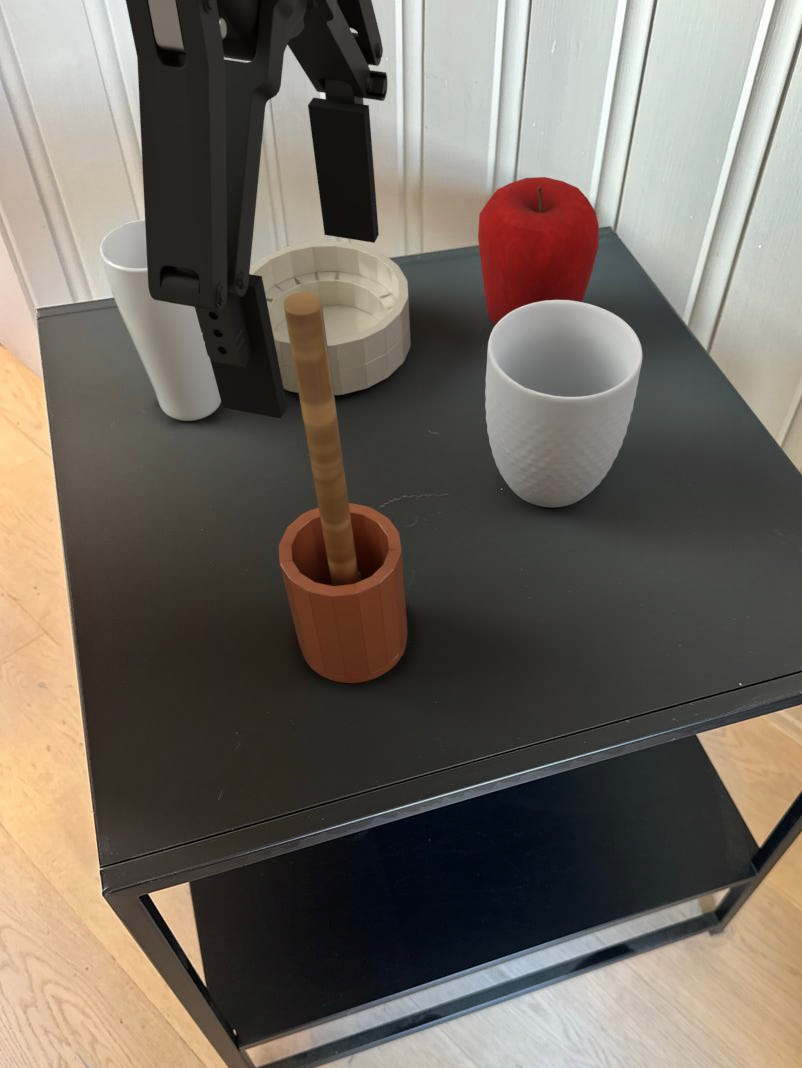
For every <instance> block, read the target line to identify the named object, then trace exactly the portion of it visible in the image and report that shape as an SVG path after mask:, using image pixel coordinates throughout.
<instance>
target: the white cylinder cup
mask: <svg viewBox="0 0 802 1068" xmlns="http://www.w3.org/2000/svg"><path fill="white" fill-rule="evenodd" d="M99 255H100V259H101V262H102V266H103V269H104V273H105V275H106V280H107V282H108V285H109V288H110V291H111V294H112V296H113V299H114V303H115V304H116V307H117V309H118V312H119V313H120V316H121V318H122V321H123V324H124V325H125V327H126V329H127V332H128V334H129V336H130V339H131V340H132V343H133V345H134V347H135V350H136V351H137V354H138V356H139V359H140V360H141V363H142V365H143V368H144V370H145V372H146V375H147V376H148V379H149V381H150V384H151V387H152V388H153V390H154V393H155V397H156V399H157V402H158V405H159V408H160V410H162V412H163V413H164V414H166V416H168V417H169V418H171V419H174V420H178V421H183V422H192V421H199V420H202V419H205V418H207V417H208V416H211V415H212V414H213V413H214V412H216V411H217V410H218V409H219V407H220V405H222V402H221V398H220V395H219V391H218V387H217V383H216V380H215V376H214V372H213V368H212V365H211V361H210V358H209V356H208V355H207V351H206V347H205V342H204V340H203V336H202V334H203V333H202V332H201V329H200V325H199V321H198V318H197V314H196V310H195V307H192V306H186V305H180V304H175V303H169V302H164V301H158V300H154V299H153V298H152V297H151V295H150V292H149V287H148V271H147V250H146V229H145V218H142V219H136V220H132V221H129V222H125V223H123V224H121V225H119V226H117V227H114V228H113V229H112V230H110V231H109V232H107V234H106V235H105V236H104V237H103V239H102V240H101V242H100V245H99Z"/></svg>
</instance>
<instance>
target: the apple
mask: <svg viewBox="0 0 802 1068" xmlns="http://www.w3.org/2000/svg"><path fill="white" fill-rule="evenodd" d="M478 216H479V217H478V231H477V232H478V233H477V239H478V240H477V241H478V250H479V258H480V267H481V276H482V282H483V289H484V297H485V304H486V313H487V317H488V319H489V320H490V321H491V322H492V324H494V326H495V325H496V324H497V323H498V322H499V321H500V320H501V319H502V318H503V317H504V316H506V315H507V314H508V313H510V312H512V311H513V310H515V309H517V308H520V307H522V306H525V305H528V304H531V303H535V302H540V301H547V300H571V301H577V302H583V303H584V299H585V296H586V293H587V290H588V286H589V283H590V280H591V276H592V273H593V269H594V265H595V262H596V257H597V254H598V251H599V234H600V233H599V230H600V229H599V228H600V225H599V221H598V216H597V212H596V210H595V208H594V207H593V205H592V203H591V202H590V200H589V198H588V197H587V196H586V195H585V194H584V193H583V192H582V190H581V189H580V188H579V187H577V186H575V185H573V184H570V183H568V182H566V181H563V180H560V179H555V178H550V177H546V176H537V177H535V176H534V177H524V178H522V179H519V180H516V181H513V182H510V183H508V184H505V185H504V186H502V187H499V188H497V189H496V190H495V192H494V193H493V194H492V196H491V197H490V198H489V199H488V201H487V202H486V204H484V206H483V208H482V209H481V211H480V212H479V214H478Z"/></svg>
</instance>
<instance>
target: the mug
mask: <svg viewBox="0 0 802 1068" xmlns="http://www.w3.org/2000/svg"><path fill="white" fill-rule="evenodd" d="M486 353H487V355H486V357H487V358H486V371H485V390H484V396H485V397H484V398H485V403H484V408H485V422H486V426H487V427H486V430H487V436H488V441H489V446H490V449H491V455H492V457H493V459H494V463H495V466H496V467H497V470H498V472H499V474H500V476H501V477H502V478H503V480H504V481H505V483H506V485H507V486H508V487H509V488H510V489H511V491H512V492H513V493H514V494H515V495H517V496H518V497H519V498H520V499H521V500H523V501H524V502H527V503H528V504H531V505H533V506H538V507H542V508H562V507H567V506H570V505H574V504H575V503H577V502H580V501H581V500H582V499H583V498H585V497H587V496H588V495H589V494H590V493H592V492H593V491H594V490H595V489H596V488H597V487H598V486H599V485H600V484H601V483H602V481H603V480H604V478H606V476H607V475H608V472H609V471H610V470H611V468H612V466H613V464H614V461H615V460H616V458H617V457H618V455H619V451H620V450H621V448H622V447H623V443H624V439H625V437H626V436H627V431H628V427H629V424H630V421H631V415H632V412H633V411H634V405H635V404H634V402H635V399H636V396H637V388H638V386H639V379H640V374H641V370H642V364H643V348H642V344H641V341H640V339H639V336H638V335H637V333H636V332H635V330H634V329H633V328H632V327H631V326H630V325H629V324H628V323H627V322H626V321H625V320H624V319H623V318H621V317H620V316H618V315H617V314H615V313H613V312H611V311H609V310H607V309H605V308H602V307H600V306H598V305H594V304H591V303H587V302H584V301H583V302H577V301H571V300H547V301H540V302H535V303H531V304H528V305H525V306H522V307H520V308H517V309H515V310H513V311H512V312H510V313H508V314H507V315H506V316H504V317H503V318H502V319H501V320H500V321H499V322H498V323H497V324H496V325H495V324H494V326H493V328H492V330H491V332H490V335H489V339H488V342H487V351H486Z"/></svg>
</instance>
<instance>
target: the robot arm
mask: <svg viewBox="0 0 802 1068" xmlns="http://www.w3.org/2000/svg"><path fill="white" fill-rule="evenodd" d="M125 5H126V9H127V14H128V18H129V25H130V29H131V34H132V39H133V43H134V44H133V45H134V48H135V53H136V59H137V60H136V61H137V81H138V101H139V104H138V105H139V123H140V142H141V143H140V144H141V164H142V165H141V166H142V185H143V206H144V207H143V209H144V219H145V229H146V250H147V271H148V287H149V292H150V295H151V297H152V298H153V299H154V300H158V301H164V302H169V303H175V304H180V305H186V306H192V307H195V310H196V314H197V318H198V321H199V325H200V329H201V332H202V333H203V334H202V336H203V340H204V342H205V347H206V351H207V355H208V356H209V358H210V361H211V365H212V368H213V372H214V376H215V380H216V383H217V387H218V391H219V395H220V398H221V406H222V408H223V409H227V410H233V411H238V412H243V413H248V414H253V415H259V416H264V417H269V418H270V417H271V418H275V419H279V420H280V419H282V418H283V417H284V415H285V413H286V411H287V409H288V404H287V399H286V394H285V393H286V392H285V389H284V387H283V382H282V377H281V372H280V367H279V362H278V357H277V351H276V346H275V341H274V336H273V331H272V326H271V321H270V316H269V310H268V305H267V300H266V295H265V290H264V285H263V280H262V276H258V275H252V274H249V273H250V267H251V261H252V250H253V240H254V228H255V219H256V211H257V210H256V208H257V199H258V189H259V188H258V187H259V179H260V178H259V177H260V169H261V167H260V165H261V157H262V146H263V137H264V136H263V135H264V125H265V115H266V106H267V103H268V102H269V100H271V99H273V98H275V97H276V96H277V95H278V93H279V92H280V89H281V86H282V78H283V77H282V76H283V66H284V57H285V51H286V49H287V47H288V48H289V50H290V52H291V53H292V54H293V56H294V57H295V59H296V61H297V62H298V64H299V66H300V67H301V69H302V70H303V72H304V74H305V75H306V76H307V78H308V80H309V81H310V84H312V86H313V87H314V89H315V91H316V92H318V93H323V94H324V95H325V96H324V97H325V98H322V97H321V98H320V97H312V98H311V100H310V102H308V104H307V109H308V117H309V124H310V132H311V139H312V148H313V155H314V163H315V171H316V179H317V187H318V194H319V202H320V203H319V204H320V210H321V211H320V212H321V218H322V226H323V233H324V236H329V237H335V238H341V239H347V240H348V239H349V240H352V241H353V240H355V241H360V242H368V243H373V244H375V243H376V241H377V239H378V237H379V236H380V233H379V231H380V230H379V220H378V209H377V208H378V205H377V193H376V192H377V191H376V181H375V169H374V168H375V167H374V154H373V142H372V141H373V140H372V127H371V116H370V115H371V114H370V105H369V104H364V99H367V100H373V101H374V100H375V101H382V102H383V101H385V99H386V97H387V93H388V81H389V80H388V74H387V71H386V72H385V71H379V70H373V69H372V70H371V69H370V66H375V67H379V66H380V64H381V61H382V58H383V55H384V54H383V53H384V47H383V42H382V37H381V34H380V29H379V26H378V25H379V24H378V21H377V17H376V12H375V10H374V5H373V1H372V0H125ZM351 29H352V30H354V31H355V32H352V30H351ZM225 58H226V59H225Z"/></svg>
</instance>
